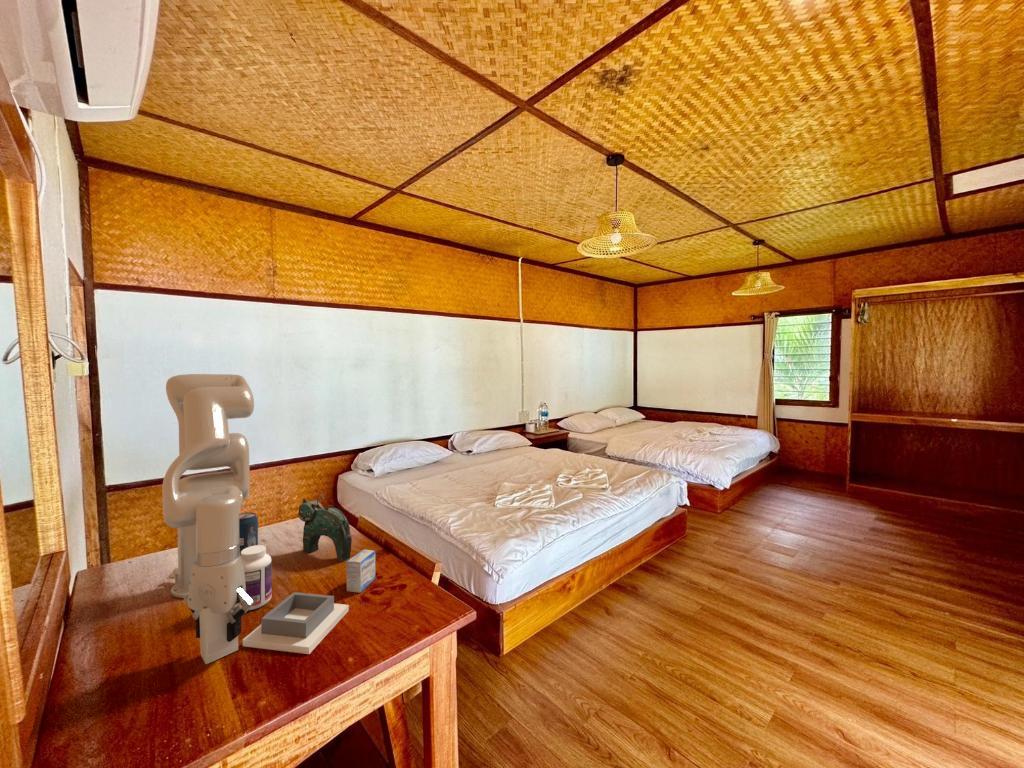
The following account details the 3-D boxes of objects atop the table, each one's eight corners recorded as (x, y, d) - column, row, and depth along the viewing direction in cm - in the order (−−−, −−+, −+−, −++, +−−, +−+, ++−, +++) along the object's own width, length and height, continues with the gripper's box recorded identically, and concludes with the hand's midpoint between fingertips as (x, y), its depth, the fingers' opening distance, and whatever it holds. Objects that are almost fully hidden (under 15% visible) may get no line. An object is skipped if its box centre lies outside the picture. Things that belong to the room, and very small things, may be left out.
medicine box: (360, 593, 111) (360, 562, 111) (346, 591, 112) (346, 560, 112) (375, 579, 119) (375, 550, 118) (362, 577, 120) (362, 548, 119)
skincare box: (232, 642, 91) (232, 589, 90) (239, 651, 88) (238, 596, 87) (198, 656, 86) (198, 601, 85) (204, 666, 83) (203, 609, 83)
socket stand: (242, 646, 89) (242, 624, 89) (291, 604, 105) (291, 586, 105) (309, 654, 87) (309, 631, 87) (348, 610, 103) (348, 591, 103)
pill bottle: (259, 591, 111) (259, 540, 110) (278, 599, 107) (278, 546, 107) (228, 607, 104) (228, 552, 103) (247, 616, 100) (247, 559, 100)
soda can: (240, 546, 139) (240, 511, 138) (261, 545, 140) (261, 511, 139) (228, 555, 132) (228, 519, 131) (251, 554, 133) (251, 518, 132)
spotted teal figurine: (296, 552, 135) (296, 493, 134) (312, 545, 141) (312, 488, 140) (341, 564, 127) (341, 502, 126) (356, 556, 133) (356, 496, 132)
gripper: (165, 559, 83) (166, 643, 84) (240, 565, 81) (241, 652, 82) (198, 543, 91) (199, 621, 91) (268, 549, 89) (268, 628, 89)
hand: (219, 635), depth 87 cm, fingers closed on skincare box, 6 cm apart
